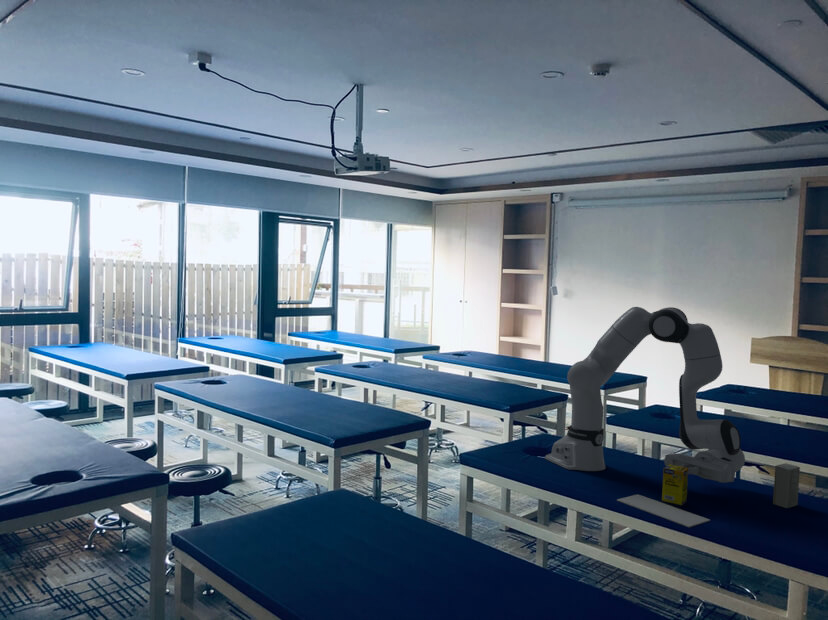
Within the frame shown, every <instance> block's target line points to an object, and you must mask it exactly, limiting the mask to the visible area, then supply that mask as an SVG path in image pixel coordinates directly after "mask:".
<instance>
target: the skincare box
mask: <svg viewBox="0 0 828 620" xmlns="http://www.w3.org/2000/svg"><path fill="white" fill-rule="evenodd" d="M800 471H801V467H800V466H798V465H795V464H794V465H793V464H792V463H791V464H790V463H781V464H778V465H777V464H776V465H775V467H774V481H773V483H774V484H773V493H772V494H773V495H772V496H773V497H772V498H773V499H772V504H773V505H776V506H778V507H782V508H784V509H789V508H792V507H795V506H798V502H799V490H800V489H799V485H800Z"/></svg>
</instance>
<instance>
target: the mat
mask: <svg viewBox="0 0 828 620" xmlns="http://www.w3.org/2000/svg"><path fill="white" fill-rule="evenodd" d="M616 502H619V503H621V504H622V503H623V504H625V505H628V506H630V507H632V508H636V509H638V510H641V511H644V512H647V513H649V514H651V515H654V516H657V517H661V518H662V519H666V520H667V521H671V522H673V523H675V524H677V525H681V526H684V527H687V528H692V527H695V526H698V525H701V524H705V523H707V522H710V521H711V519H709V518H706V517H704V516H700V515H698V514H695V513H693V512H689V511H686V510H683V509H681V508H679V507H676V506H673V505H668V504H664V503H662V501H658V500H656V499H652V498H651V497H650V498H649V497H646V496H644V495H641V494H638V493H637V494H633V495H630V496H629V495H628V496H626V497H621V498H618V499H616Z"/></svg>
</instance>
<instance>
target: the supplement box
mask: <svg viewBox="0 0 828 620" xmlns="http://www.w3.org/2000/svg"><path fill="white" fill-rule="evenodd" d="M662 473H663V474H662V489H661V490H662V492H661V503H664V504H667V505H670V506H673V507H676V508H682V507H683V506H684V505H685V504H687V498H688V483H689V482H688V480H689V477H688V476H689V474H688V468H686V467H681V466H676V465H671V464H669V465H668V466H665V467H663V472H662Z"/></svg>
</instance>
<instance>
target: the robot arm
mask: <svg viewBox="0 0 828 620" xmlns="http://www.w3.org/2000/svg"><path fill="white" fill-rule="evenodd" d="M649 335H652V337H654V338H655V339H656V340H657V341H660V342H664V343H673V344H679V345H680V347H681V349H682V353H683V358H684V370H683V371H684V372H683V374H681V375H680V377H679V383H678V396H679V397H678V399H679V418H680V419H679V420H680V421H679V422H680V423H679V432H678V434H679V439H680V441H681V442H682V444H683V445H684V446H685V447H686V448H687V449H689V450H691V451H693V450H702V451H698V452H696V454H695V455H694V456H691V455H688V454H683V453H669V454H668V453H667V454H665V456H664V465H665V467H666V466H668V465H669V464H671V465H676V466H681V467H686V468H688V475H695V476H698V477H700V478H702V479H705V480H711V481H715V482H717V483H724V484H725V483H733V482H735V476H736V472H738V471H740V470H741V469H742V468H743V467H744V465H745V463H746V457H745V453H744V452H743V451H742V449H741V441H742V440H741V435H740V432H739V430H738V428H737V427H736V425H735V424H734V423H733V422H732V421H731V420H729V419H700V418H699V417H698V414H697V411H698V409H697V407H698V406H697V394H698V391H699V390H700V389H701V388H702V387H705V386H707V385H708V384H711V383H712V382H715V381H716V380H717V379H718V378H719V377H720V376H721V373H722V372H723V361H722V355H721V352H720V350H721V349H720V348H719V347H720V346H719V343H718V340H717V338H716V335H715V333H714V331H713V329H712V328H711V326H709V325H708V324H705V323H700V322H699V323H698V322H697V323H690V322H689V321H688V317H687V315H686V313H684V311H683V310H681V309H680V308H677V307H672V306H671V307H669V306H668V307H663V308H660V309H659V310H655V311H653V312H649V311H648V310H646V309H645V308H643V307H640V306H632V307H631V308H629V309H628V310H627V311H625V312H624V313H622V314H621V316H619V317H618V318H617V319H616V320H615V321H614V322H613V323H612V325H610V327H609V328H608V329H607V330H606V331H605V332H604V334H603V335H602V336H601V337H600V338H599V339H598V340H597V342H596V344H595V346H594V347H593V348H592V350H591V352H590V353H589V354H588V356H586V358H584V359H583V360H580V361H577V362H575V363H574V364H573V365H571V367H570V368H569V369H568V372H567V375H566V376H567V377H566V378H567V382H568V384H569V393H570V397H571V424H570V425H569V426H565V427H564V428H565V429H564V430H565V431H567V433H566V435H564V436H563V437H561V438H559V439H558V440H557V441H555V442H554V443H553V445H552V447H551V448H552V449H551V453H548V454H546V455H545V456H544V459H545V460H547V461H549V462H551V463H553V464H556V465H558V466H559V467H562V468H564V469H566V470H570V471H571V470H572V471H575V470H576V471H582V472H583V471H584V472H599V471H604V470H605V469H607V468H606V463H605V458H604V448H603V442H604V435H605V432H604V431H605V428H603V426H604V411H605V410H604V409H605V408H604V405H603V402H602V401H603V400H602V390H601V387H603V386H604V385H605V384H606V383H607V382H608V381H609V379H611V377H612V376H613V375H614V373H615V372H616V371H617V370H618V369H619V368H620V366H621V365H622V363H623V362H624V361H625V360H626V359H627V358H628V357H629V355H631V353H632V352H633V351H634V350H635V349H636V348H637V347H638V346H639V345H640V343H641V342H642V341H643V340H644V339H645V338H646V337H648V336H649Z"/></svg>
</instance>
